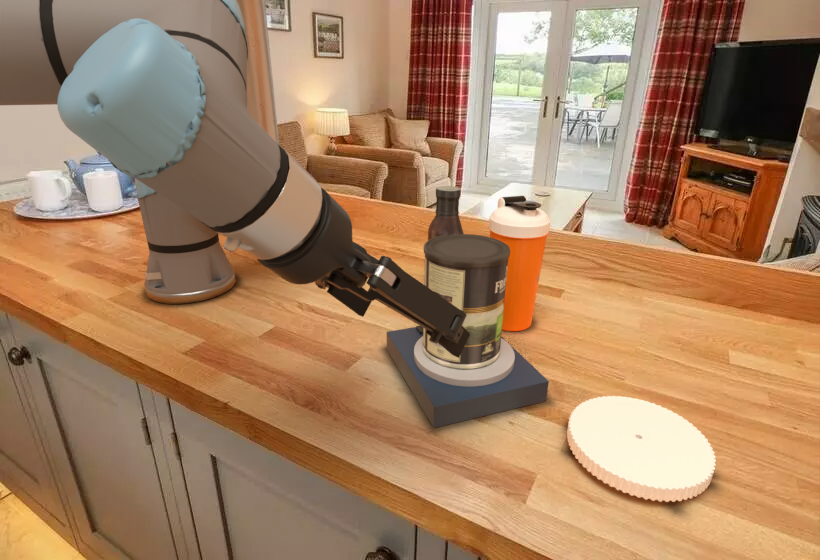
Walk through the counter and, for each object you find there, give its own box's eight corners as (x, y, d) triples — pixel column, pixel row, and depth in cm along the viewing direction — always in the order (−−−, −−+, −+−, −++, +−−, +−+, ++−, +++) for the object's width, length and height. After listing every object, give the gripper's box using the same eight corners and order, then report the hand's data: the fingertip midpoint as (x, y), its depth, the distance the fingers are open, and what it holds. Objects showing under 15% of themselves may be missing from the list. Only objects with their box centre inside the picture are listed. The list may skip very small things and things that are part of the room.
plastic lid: (735, 467, 51) (742, 448, 50) (661, 535, 43) (668, 514, 42) (614, 399, 61) (618, 382, 60) (538, 443, 54) (541, 425, 53)
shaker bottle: (504, 339, 74) (516, 210, 66) (470, 315, 82) (478, 196, 74) (549, 327, 78) (566, 203, 70) (513, 304, 85) (525, 191, 77)
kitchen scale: (386, 349, 71) (386, 325, 70) (479, 333, 76) (480, 310, 74) (433, 428, 56) (434, 399, 54) (546, 401, 60) (550, 374, 59)
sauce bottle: (449, 310, 83) (455, 194, 75) (418, 301, 86) (420, 189, 78) (466, 296, 88) (473, 187, 80) (436, 289, 91) (440, 182, 83)
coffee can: (501, 333, 68) (511, 236, 62) (499, 374, 59) (509, 265, 53) (428, 325, 70) (431, 230, 64) (414, 364, 61) (416, 257, 55)
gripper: (178, 229, 44) (319, 319, 60) (382, 312, 29) (494, 400, 46) (224, 162, 46) (348, 267, 62) (438, 208, 31) (527, 330, 47)
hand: (410, 324), depth 54 cm, fingers open, 13 cm apart
